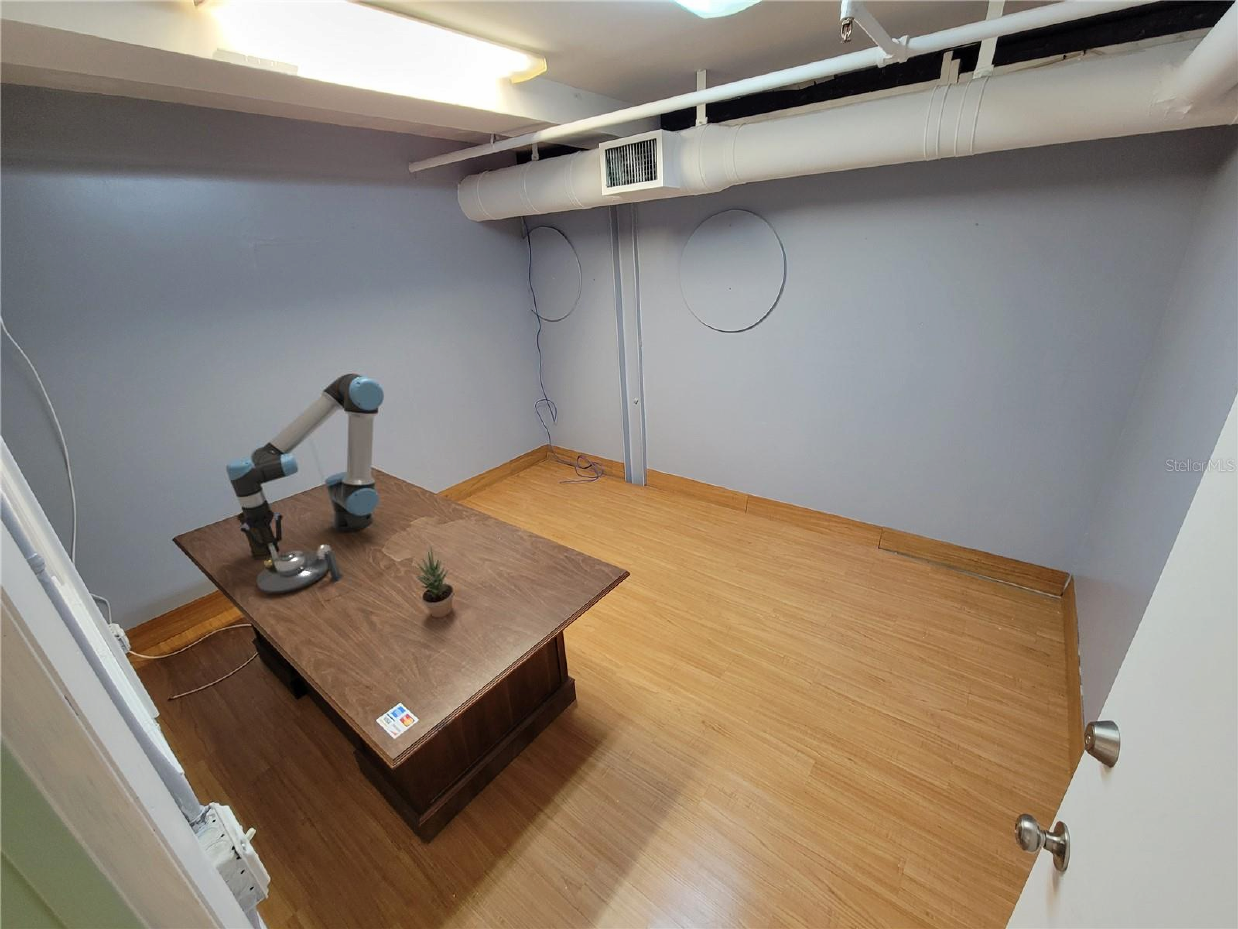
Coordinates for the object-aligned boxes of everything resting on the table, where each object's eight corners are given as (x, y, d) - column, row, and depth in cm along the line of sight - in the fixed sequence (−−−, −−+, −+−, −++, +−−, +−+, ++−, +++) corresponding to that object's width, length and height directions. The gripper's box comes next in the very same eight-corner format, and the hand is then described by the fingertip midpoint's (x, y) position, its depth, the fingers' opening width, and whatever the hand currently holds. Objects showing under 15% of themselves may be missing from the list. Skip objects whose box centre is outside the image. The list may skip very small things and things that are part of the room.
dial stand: (344, 574, 178) (334, 542, 173) (336, 582, 174) (325, 550, 168) (334, 573, 179) (324, 541, 173) (325, 582, 174) (314, 549, 169)
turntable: (291, 554, 189) (287, 543, 187) (343, 558, 185) (339, 547, 183) (242, 591, 169) (237, 579, 167) (298, 596, 166) (294, 583, 164)
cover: (291, 561, 181) (286, 548, 179) (313, 563, 180) (308, 549, 177) (272, 576, 173) (266, 562, 170) (295, 578, 172) (290, 563, 169)
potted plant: (439, 625, 151) (423, 557, 141) (419, 615, 156) (402, 549, 146) (464, 606, 159) (451, 541, 149) (445, 597, 164) (430, 533, 154)
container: (266, 560, 188) (250, 519, 181) (246, 558, 190) (230, 518, 183) (285, 547, 196) (270, 507, 189) (266, 546, 198) (251, 506, 191)
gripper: (272, 493, 178) (293, 548, 187) (229, 506, 169) (253, 564, 179) (278, 499, 173) (299, 556, 182) (233, 513, 164) (257, 572, 174)
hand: (276, 560), depth 180 cm, fingers closed
